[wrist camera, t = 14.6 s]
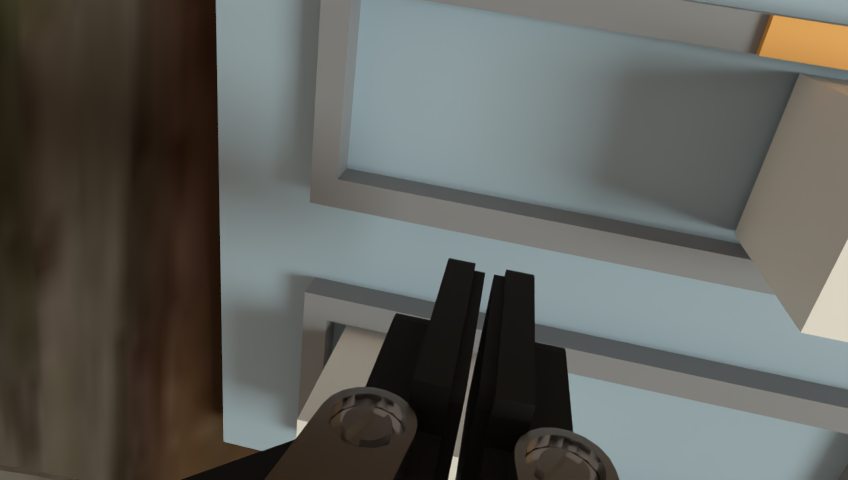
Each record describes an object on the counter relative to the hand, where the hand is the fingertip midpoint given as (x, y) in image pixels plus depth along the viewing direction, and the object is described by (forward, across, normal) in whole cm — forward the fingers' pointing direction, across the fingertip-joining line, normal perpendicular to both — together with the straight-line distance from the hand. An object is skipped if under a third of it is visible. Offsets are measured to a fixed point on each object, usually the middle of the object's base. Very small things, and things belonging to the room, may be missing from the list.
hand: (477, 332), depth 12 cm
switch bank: (+6, -3, +1) cm, 7 cm away
